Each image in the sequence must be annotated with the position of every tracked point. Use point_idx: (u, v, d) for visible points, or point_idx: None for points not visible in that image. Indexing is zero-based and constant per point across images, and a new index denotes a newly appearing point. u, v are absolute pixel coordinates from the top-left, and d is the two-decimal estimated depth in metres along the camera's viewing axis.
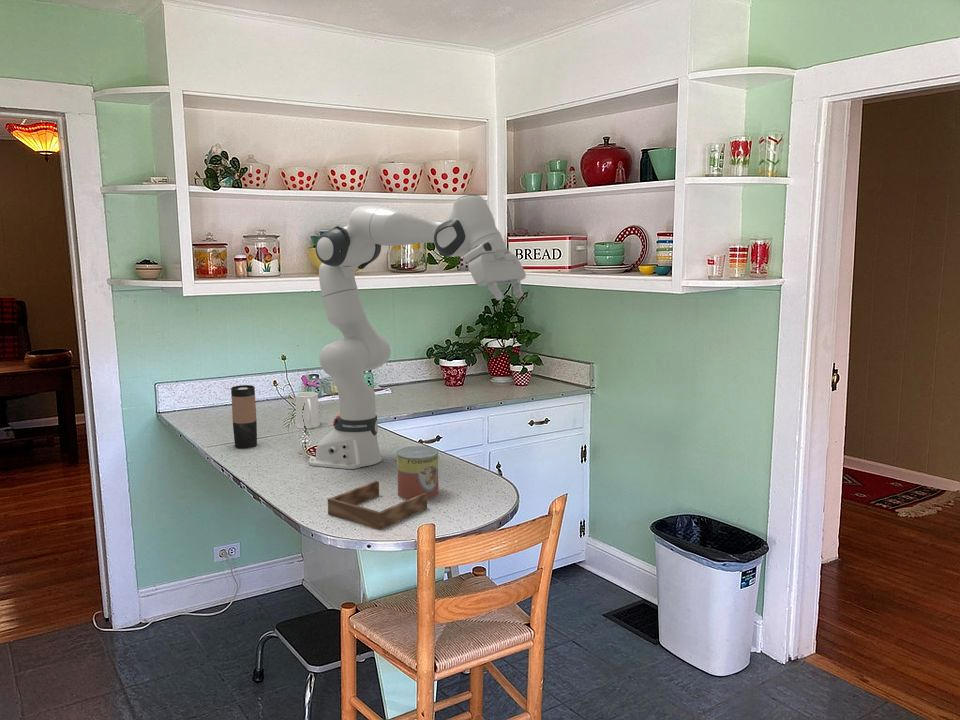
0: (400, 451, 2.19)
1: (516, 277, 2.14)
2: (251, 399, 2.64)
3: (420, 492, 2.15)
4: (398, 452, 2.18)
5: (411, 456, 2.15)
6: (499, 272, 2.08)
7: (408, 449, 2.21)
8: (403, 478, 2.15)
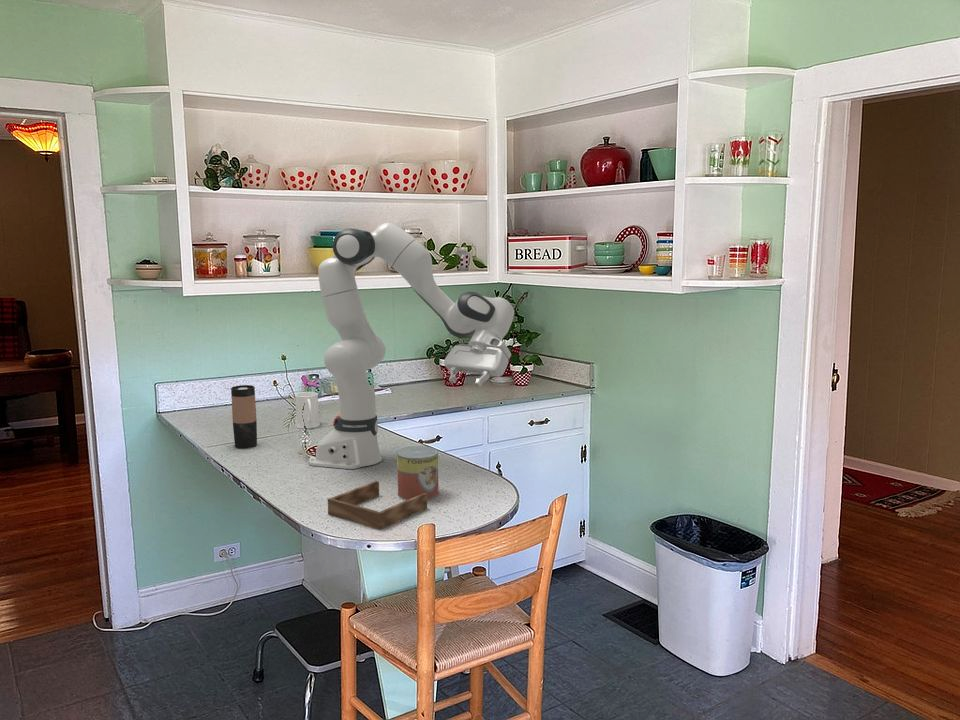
0: (400, 451, 2.19)
1: None
2: (251, 399, 2.64)
3: (420, 492, 2.15)
4: (398, 452, 2.18)
5: (411, 456, 2.15)
6: None
7: (408, 449, 2.21)
8: (403, 478, 2.15)
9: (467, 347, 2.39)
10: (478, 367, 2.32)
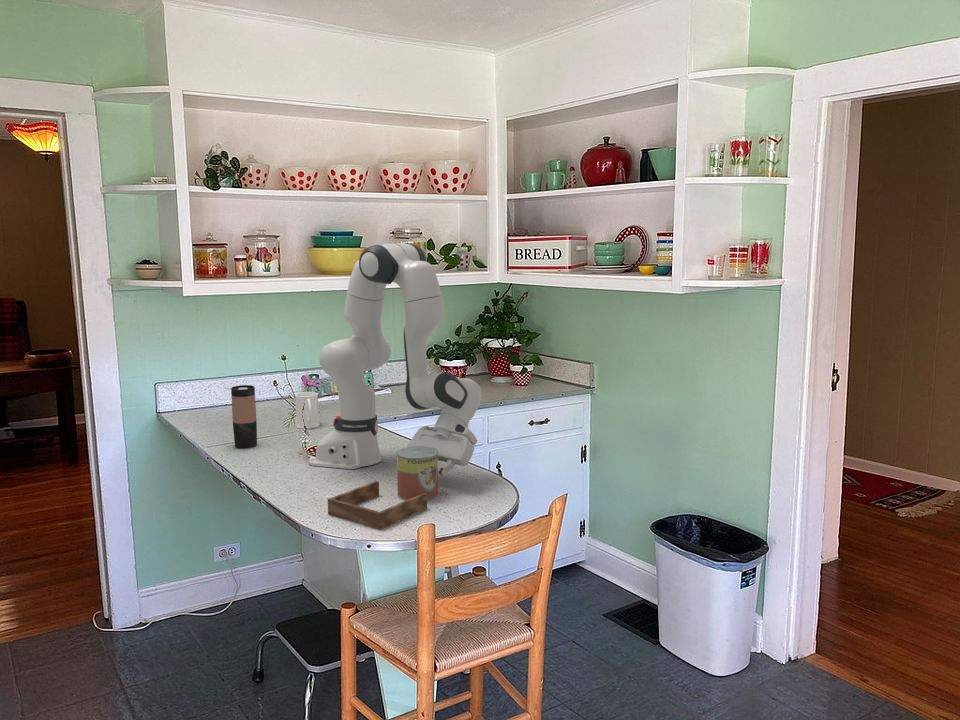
0: (400, 451, 2.19)
1: None
2: (251, 399, 2.64)
3: (420, 492, 2.15)
4: (398, 452, 2.18)
5: (411, 456, 2.14)
6: None
7: (408, 449, 2.21)
8: (403, 478, 2.15)
9: (432, 432, 2.29)
10: (442, 455, 2.22)
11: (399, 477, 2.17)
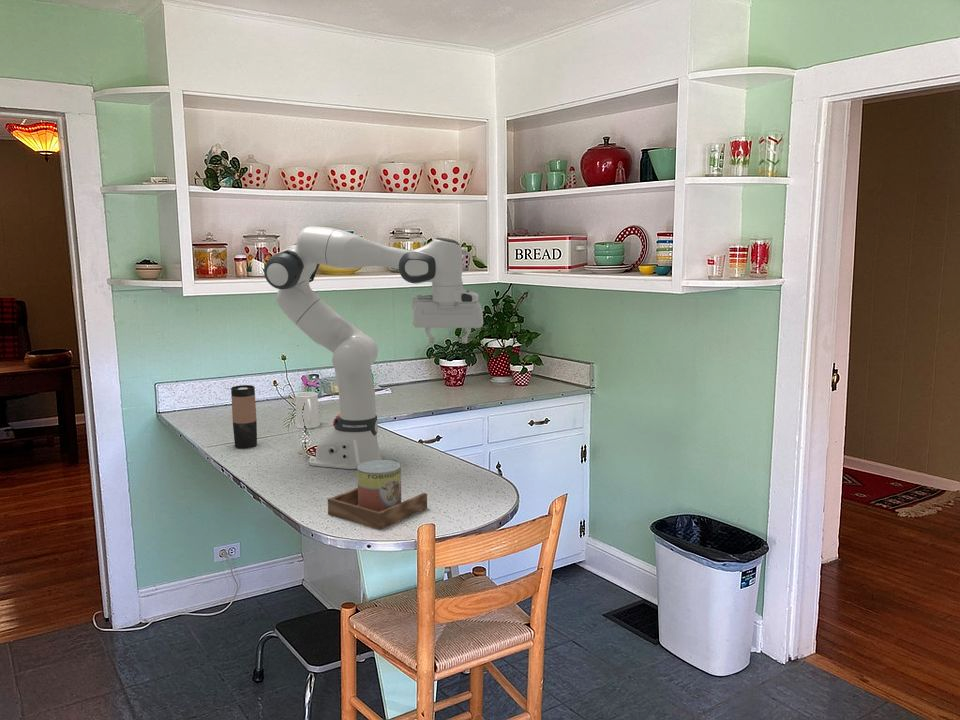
0: (360, 465, 2.07)
1: None
2: (251, 399, 2.64)
3: (381, 509, 2.03)
4: (358, 466, 2.06)
5: (372, 471, 2.02)
6: None
7: (369, 463, 2.09)
8: (363, 494, 2.03)
9: (433, 304, 2.29)
10: (459, 326, 2.29)
11: (359, 493, 2.04)
